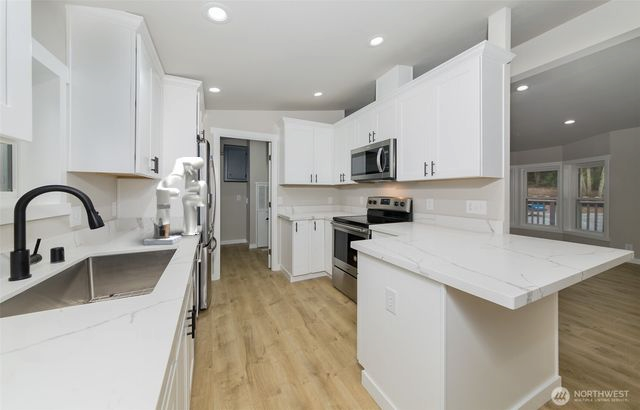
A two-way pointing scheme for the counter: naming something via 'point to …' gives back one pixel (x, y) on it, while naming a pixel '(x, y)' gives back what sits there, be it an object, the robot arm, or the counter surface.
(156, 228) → the small box
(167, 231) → the peg
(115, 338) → the counter surface
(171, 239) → the socket
